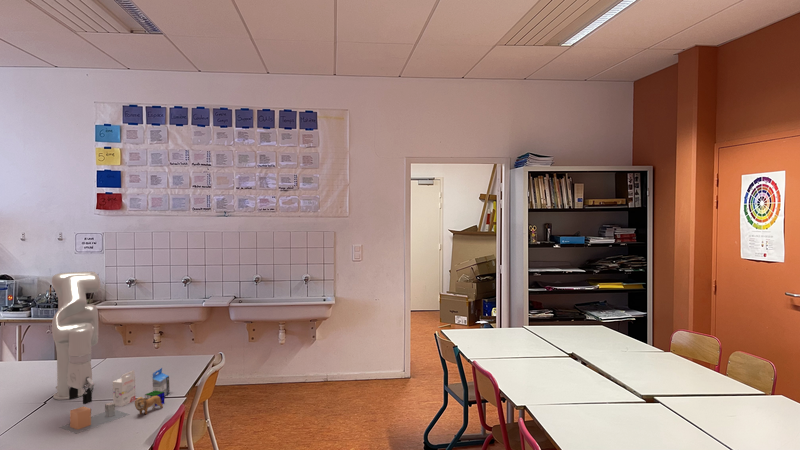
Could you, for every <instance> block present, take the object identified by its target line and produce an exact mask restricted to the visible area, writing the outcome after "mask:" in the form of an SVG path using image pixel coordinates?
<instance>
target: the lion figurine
mask: <svg viewBox="0 0 800 450" xmlns="http://www.w3.org/2000/svg"><path fill="white" fill-rule="evenodd" d="M155 404H157V407H158V406H159V407H160V409H163V408H164V404H161V399H160V397H159V396H153V397H151V398H149V399H145V397H143V396H139V397H137V398H135V400H134V407H135V409H136V410H137V411H138V412H139V415H142V414H143V411H144V415H148V409H149V408H150V407H152V406H153V407H152V408H151V409H152V410H155V408H156V406H155Z"/></svg>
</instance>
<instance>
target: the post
mask: <svg viewBox="0 0 800 450" xmlns="http://www.w3.org/2000/svg"><path fill="white" fill-rule="evenodd" d="M115 410H116V406H115V403H113V401H111V402H108V403H105V404H104V412H105V416H106V417H111V416H114V415H115Z"/></svg>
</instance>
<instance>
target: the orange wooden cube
mask: <svg viewBox="0 0 800 450" xmlns="http://www.w3.org/2000/svg"><path fill="white" fill-rule="evenodd" d="M91 412H92V409H91V408H90V407H87V406H81V407H80V406H79V407H77V408H73V409H70V410H69V422H70V423H69V424H70V427H72V428H74V429H77V430H78V429H81V428H84V427H86V426H89V425H91V416H92V413H91Z"/></svg>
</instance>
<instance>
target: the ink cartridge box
mask: <svg viewBox="0 0 800 450" xmlns="http://www.w3.org/2000/svg"><path fill="white" fill-rule="evenodd" d="M135 372H136V371H135V370H134V369H133V370H130V371H129V372H126V373H124V374H121V376H120V378H118V379H115V380H113V381H112V403H115V407H124V406H126V405H129V404H130V403H132V402H135V400H136V374H135Z"/></svg>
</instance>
